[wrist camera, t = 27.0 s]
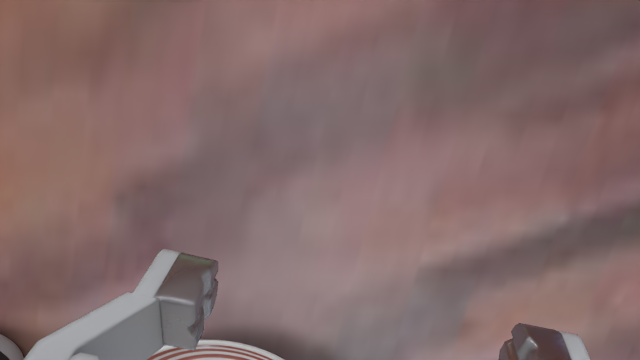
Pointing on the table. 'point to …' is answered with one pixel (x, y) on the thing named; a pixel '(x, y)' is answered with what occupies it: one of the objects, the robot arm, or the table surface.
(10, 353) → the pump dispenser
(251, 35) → the table surface
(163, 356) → the dinner plate
